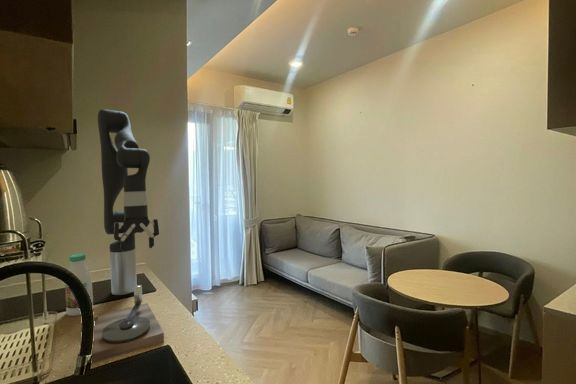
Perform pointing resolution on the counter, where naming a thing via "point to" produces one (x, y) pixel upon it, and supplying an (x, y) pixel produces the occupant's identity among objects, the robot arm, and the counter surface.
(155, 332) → the stand
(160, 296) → the counter surface
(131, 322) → the gray disc with handle
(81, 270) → the milk bottle
